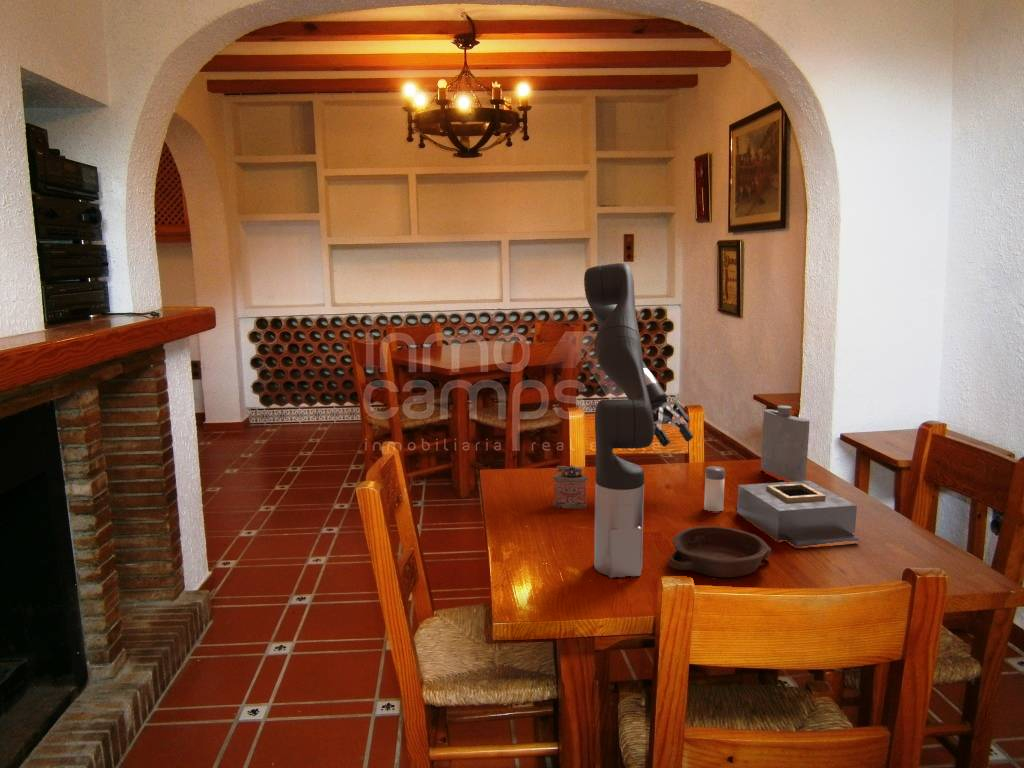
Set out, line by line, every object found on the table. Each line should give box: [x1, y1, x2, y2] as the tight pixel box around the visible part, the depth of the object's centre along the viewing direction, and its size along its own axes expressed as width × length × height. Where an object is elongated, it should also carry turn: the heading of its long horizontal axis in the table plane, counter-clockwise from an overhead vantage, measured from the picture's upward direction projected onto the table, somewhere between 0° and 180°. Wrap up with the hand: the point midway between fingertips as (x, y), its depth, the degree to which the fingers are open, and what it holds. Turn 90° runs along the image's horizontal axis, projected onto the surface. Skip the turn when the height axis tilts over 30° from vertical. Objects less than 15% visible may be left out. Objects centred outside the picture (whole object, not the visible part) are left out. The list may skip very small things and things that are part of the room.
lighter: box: [553, 464, 588, 509], centre depth 178 cm, size 8×3×10 cm, turn 84°
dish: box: [669, 525, 772, 578], centre depth 144 cm, size 18×22×5 cm
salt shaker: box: [703, 465, 726, 513], centre depth 175 cm, size 4×4×10 cm
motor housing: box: [736, 480, 859, 547], centre depth 165 cm, size 26×18×8 cm
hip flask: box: [760, 405, 811, 482], centre depth 199 cm, size 16×4×20 cm, turn 21°
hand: (678, 442), depth 182 cm, fingers open, 8 cm apart
